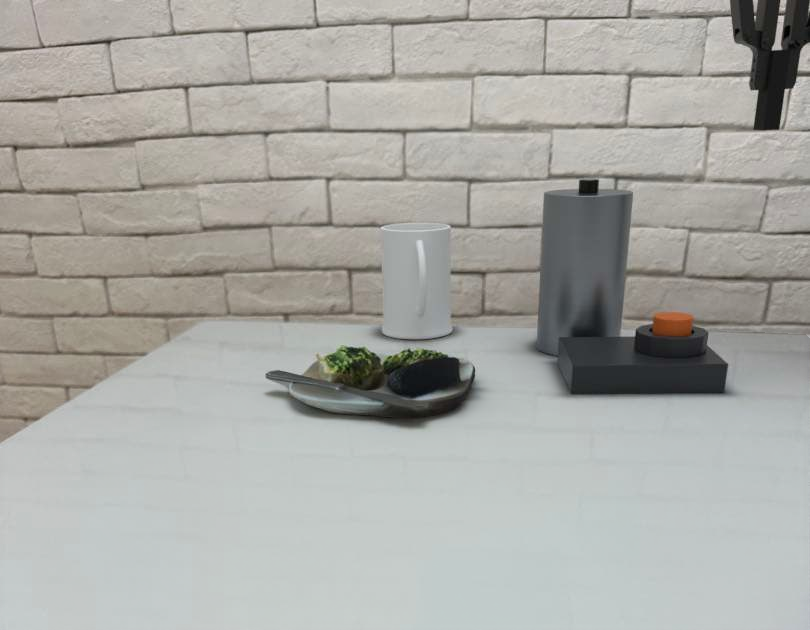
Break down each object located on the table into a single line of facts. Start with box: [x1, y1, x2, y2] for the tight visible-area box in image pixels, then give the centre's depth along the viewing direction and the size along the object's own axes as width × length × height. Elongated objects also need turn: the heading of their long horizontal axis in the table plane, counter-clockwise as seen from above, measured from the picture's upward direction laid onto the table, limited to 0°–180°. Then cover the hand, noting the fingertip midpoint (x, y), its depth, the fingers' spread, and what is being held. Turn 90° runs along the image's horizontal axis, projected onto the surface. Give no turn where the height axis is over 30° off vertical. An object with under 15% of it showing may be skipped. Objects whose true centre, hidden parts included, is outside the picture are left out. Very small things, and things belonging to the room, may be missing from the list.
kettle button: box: [652, 311, 694, 336], centre depth 82 cm, size 4×4×2 cm
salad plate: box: [265, 345, 476, 419], centre depth 80 cm, size 19×18×5 cm
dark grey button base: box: [556, 323, 729, 395], centre depth 83 cm, size 14×11×4 cm
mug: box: [380, 222, 453, 340], centre depth 99 cm, size 12×8×12 cm
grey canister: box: [536, 178, 634, 357], centre depth 91 cm, size 9×9×17 cm
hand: (766, 129), depth 81 cm, fingers closed
